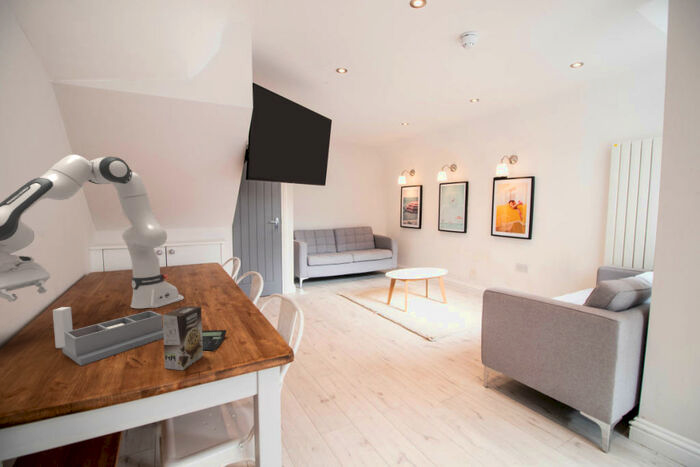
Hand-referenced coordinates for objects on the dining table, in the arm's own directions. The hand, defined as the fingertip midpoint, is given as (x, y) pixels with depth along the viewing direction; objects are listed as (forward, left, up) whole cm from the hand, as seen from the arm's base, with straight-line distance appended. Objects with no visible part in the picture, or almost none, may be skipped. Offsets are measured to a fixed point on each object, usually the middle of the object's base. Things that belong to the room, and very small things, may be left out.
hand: (29, 295), depth 105 cm
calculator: (-33, +49, -18) cm, 62 cm away
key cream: (-16, +23, -13) cm, 31 cm away
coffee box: (-21, +55, -18) cm, 62 cm away
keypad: (-16, +23, -17) cm, 33 cm away
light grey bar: (-6, +9, -17) cm, 21 cm away
